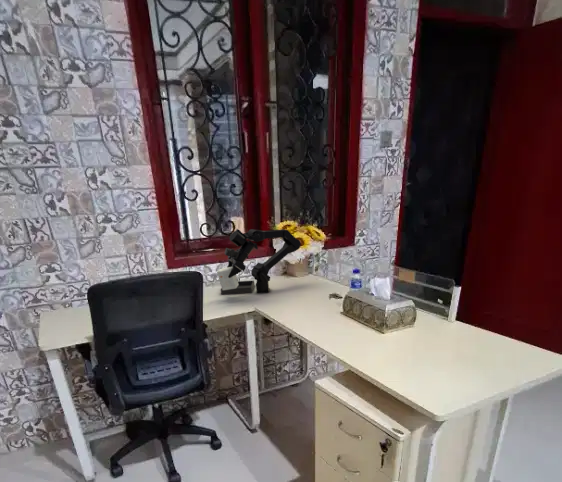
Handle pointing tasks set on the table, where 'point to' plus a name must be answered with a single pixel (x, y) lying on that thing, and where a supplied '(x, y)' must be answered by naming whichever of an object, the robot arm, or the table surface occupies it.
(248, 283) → the pan
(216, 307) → the table surface
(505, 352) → the table surface
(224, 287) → the small box
